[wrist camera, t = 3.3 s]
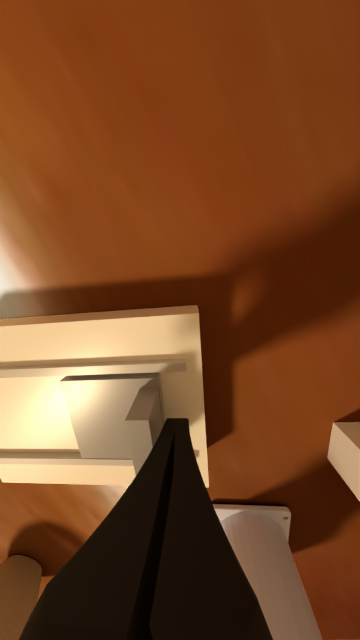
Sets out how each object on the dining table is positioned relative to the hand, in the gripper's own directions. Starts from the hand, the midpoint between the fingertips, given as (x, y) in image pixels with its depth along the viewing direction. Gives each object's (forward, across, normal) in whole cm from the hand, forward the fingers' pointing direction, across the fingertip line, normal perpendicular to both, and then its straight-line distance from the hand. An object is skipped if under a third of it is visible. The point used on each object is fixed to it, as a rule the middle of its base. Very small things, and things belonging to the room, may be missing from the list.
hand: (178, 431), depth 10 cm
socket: (+4, +6, 0) cm, 8 cm away
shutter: (+1, +4, 0) cm, 5 cm away
